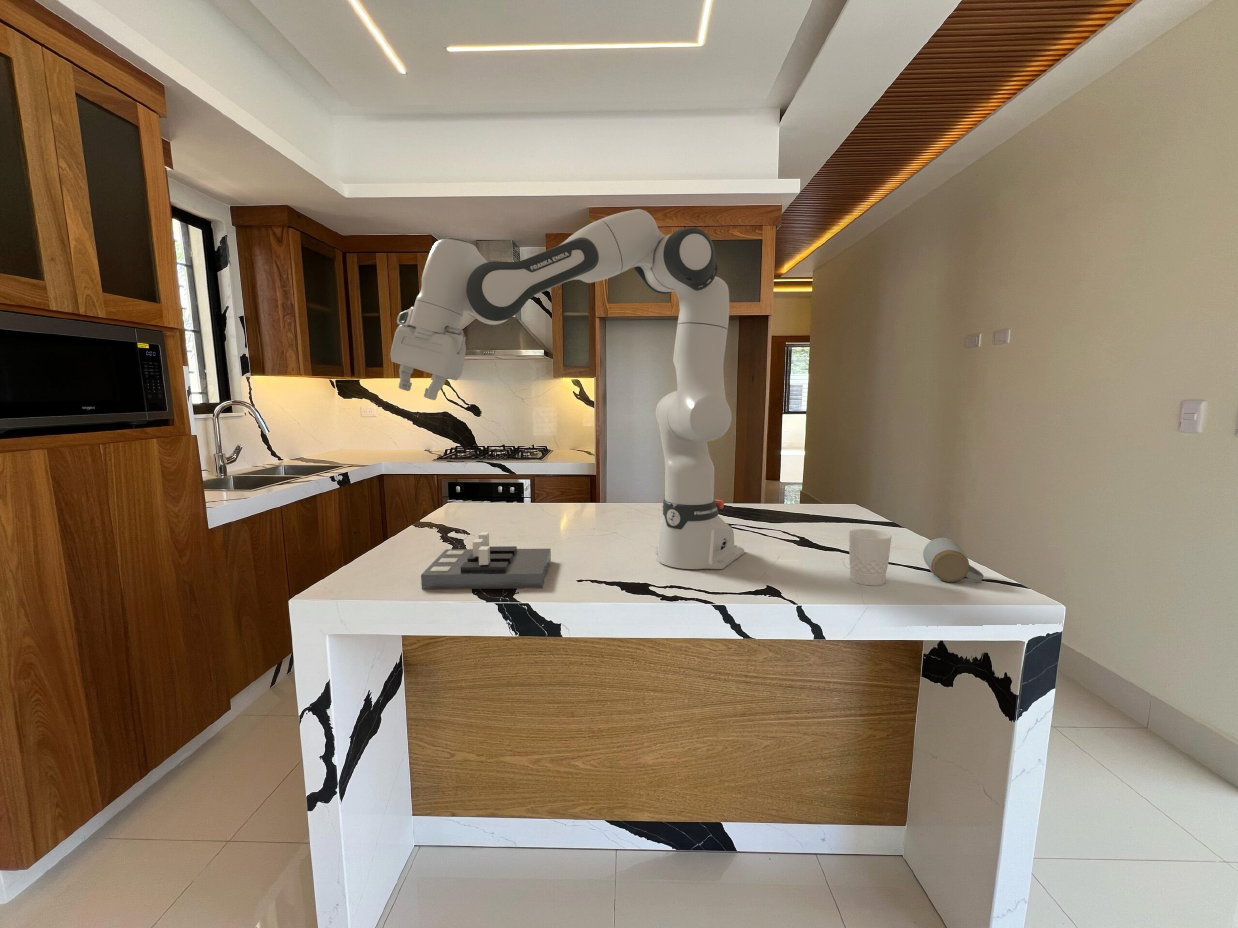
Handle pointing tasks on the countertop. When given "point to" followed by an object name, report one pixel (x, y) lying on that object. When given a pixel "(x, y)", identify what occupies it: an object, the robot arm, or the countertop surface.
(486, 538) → the white short rectangular block
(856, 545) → the white cup
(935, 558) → the ceramic mug
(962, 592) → the countertop surface
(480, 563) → the block
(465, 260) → the robot arm
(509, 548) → the breaker panel
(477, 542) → the block
